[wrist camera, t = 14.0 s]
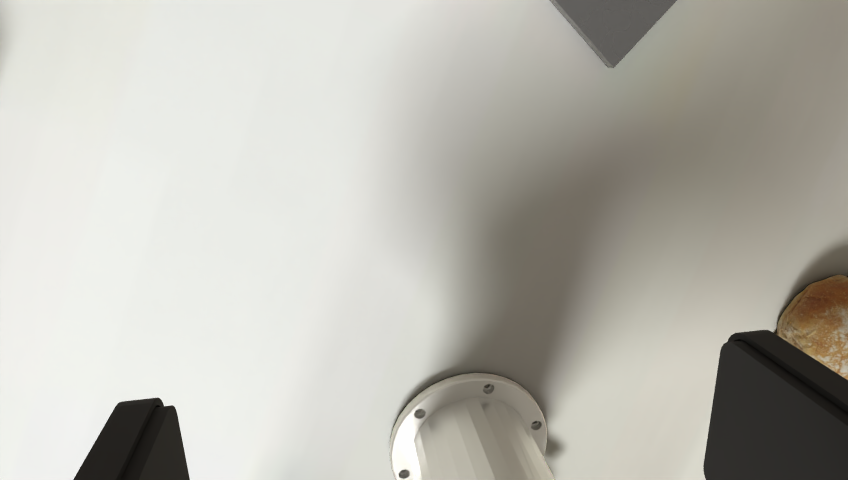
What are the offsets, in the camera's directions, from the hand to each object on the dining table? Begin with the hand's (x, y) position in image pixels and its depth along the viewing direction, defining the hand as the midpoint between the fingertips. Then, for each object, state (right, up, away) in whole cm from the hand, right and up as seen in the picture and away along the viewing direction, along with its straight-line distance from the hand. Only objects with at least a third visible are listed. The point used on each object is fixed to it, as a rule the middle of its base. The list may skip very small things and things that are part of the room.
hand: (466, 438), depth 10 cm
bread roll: (+33, -3, +40) cm, 52 cm away
